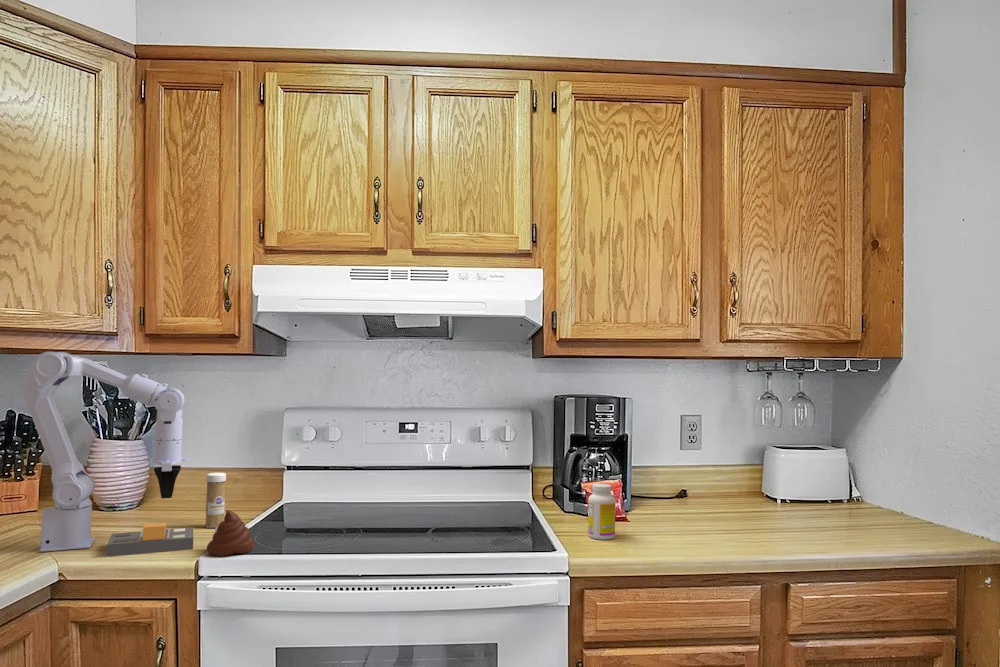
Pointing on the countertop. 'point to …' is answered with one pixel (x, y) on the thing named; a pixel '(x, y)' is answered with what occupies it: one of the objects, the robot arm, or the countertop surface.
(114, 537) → the grey block
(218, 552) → the poop emoji
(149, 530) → the block
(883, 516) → the countertop surface
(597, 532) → the supplement bottle
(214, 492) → the sprinkles bottle
